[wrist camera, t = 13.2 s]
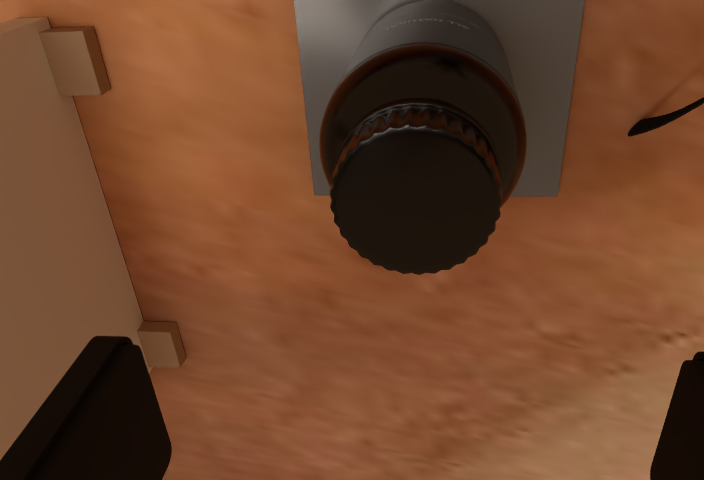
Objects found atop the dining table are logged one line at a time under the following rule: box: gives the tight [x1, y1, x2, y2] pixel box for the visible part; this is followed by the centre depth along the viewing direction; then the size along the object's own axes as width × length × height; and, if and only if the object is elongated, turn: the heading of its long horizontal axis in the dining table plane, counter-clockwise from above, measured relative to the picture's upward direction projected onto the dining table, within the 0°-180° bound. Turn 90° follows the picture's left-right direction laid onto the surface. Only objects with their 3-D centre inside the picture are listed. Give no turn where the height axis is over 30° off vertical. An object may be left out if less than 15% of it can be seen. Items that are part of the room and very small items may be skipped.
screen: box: [0, 17, 186, 460], centre depth 28 cm, size 22×6×14 cm, turn 4°
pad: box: [294, 0, 585, 197], centre depth 26 cm, size 12×12×1 cm
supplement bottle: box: [319, 0, 527, 275], centre depth 21 cm, size 7×7×12 cm
